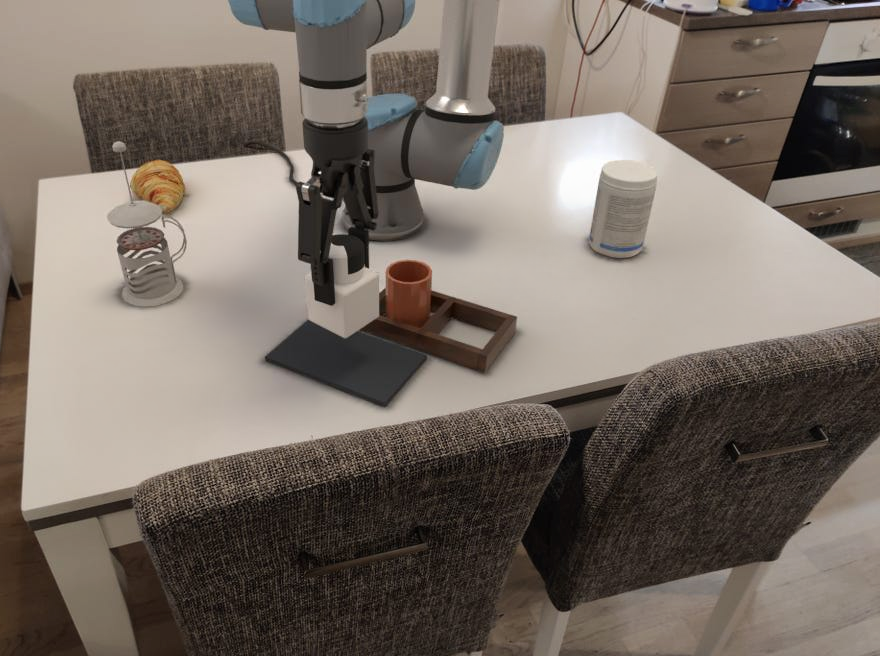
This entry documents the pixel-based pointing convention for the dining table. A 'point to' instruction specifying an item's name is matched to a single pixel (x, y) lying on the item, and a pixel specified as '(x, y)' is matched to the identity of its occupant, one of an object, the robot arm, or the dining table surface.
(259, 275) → the dining table surface
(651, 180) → the supplement tub
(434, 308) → the cup holder
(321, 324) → the medicine bottle
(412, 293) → the terracotta cup
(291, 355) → the mat
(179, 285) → the french press
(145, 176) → the croissant
